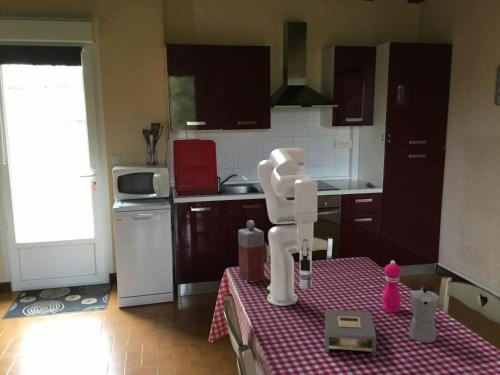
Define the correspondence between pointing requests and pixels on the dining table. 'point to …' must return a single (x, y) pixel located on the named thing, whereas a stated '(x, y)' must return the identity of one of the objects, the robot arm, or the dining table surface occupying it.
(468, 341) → the dining table surface
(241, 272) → the brown lidded canister
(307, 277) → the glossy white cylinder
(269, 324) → the dining table surface
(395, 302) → the pepper mill
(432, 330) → the coffeepot
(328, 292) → the dining table surface
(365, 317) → the grey square socket block
